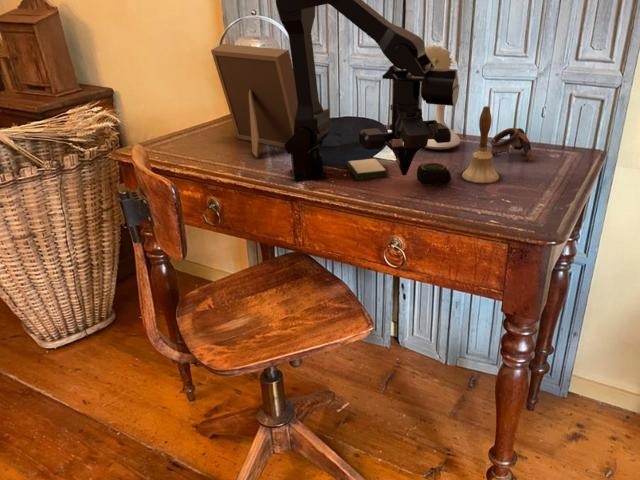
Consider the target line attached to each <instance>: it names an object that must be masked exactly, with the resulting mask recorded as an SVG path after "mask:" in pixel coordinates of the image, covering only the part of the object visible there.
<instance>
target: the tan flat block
mask: <svg viewBox="0 0 640 480" xmlns="http://www.w3.org/2000/svg"><path fill="white" fill-rule="evenodd" d="M346 163H347V169H348V170H349V172H351V174H352V175H353V176H354V178H355V179H356V181H361V180H370V179H379V178H386V177H387V170H386V168H385V167H384V166H383V165H382V164H381V163H380V162H379V161H378V160H377V159H376V158H366V159H357V160H348V161H347V162H346Z"/></svg>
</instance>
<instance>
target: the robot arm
mask: <svg viewBox="0 0 640 480" xmlns="http://www.w3.org/2000/svg"><path fill="white" fill-rule="evenodd" d="M275 5H276V10H277V13H278V16H279V20H280V23H281V24H282V26H283V28H284V30H285V32H286V33H287V37H288V42H289V49H290V50H289V52H290V58H291V63H292V67H293V73H294V81H295V89H296V96H297V110H296V114H295V118H294V135H293V136H292V137H291V138H290V139H289V140H288V141H287V142H286V144H285V145H284V146H285V148H284V149H285V151H286V154H288V155H290V161H291V162H290V163H291V169H290V174H291V176H292V177H293V180H294V181H305V180H314V179H322V178H323V173H324V166H323V165H324V164H323V163H324V162H323V155H322V154H321V151H320V150H321V149H320V148H319V146H320V147H321V146H322V144H323V142H324V139H326V138H327V137H328V135H329V133H330V128H331V127H332V123H331V121H330V114H331V113H330V112H331V111H330V109H329V108H326V109H324V108H323V106H322V104H321V102H320V98H319V90H318V82H317V72H316V63H315V54H314V45H313V37H312V36H313V35H312V30H313V27H314V23H315V17H316V7H320V6H324V5H330V6H331V7H332V8H334V9H335V10H336V11H337V12H339V13H340V14H341V15H342V16H343V17H345V18H346V19H347V20H349V22H350V23H352V24H353V25H354V26H356V27H357V28H359V29H360V30H361V31H362V32H363V33H365V34H366V35H367V36H369V38H371V39H372V40H373V41H374V42H375V43H376V44H377V45H378V47H379V49H380V50H381V52H382V54H383V55H384V57H386V58H387V60H388V61H389V63H391V64H392V65H391V66H389V68H388V69H387V71H386V72H385V73H384V74H382V75H381V77H382V79H383V80H391V81H392V84H391V85H392V87H391V91H392V92H391V93H392V94H391V95H392V96H391V104H389V105H390V108H389V109H390V111H391V123H390V124H389V130H391V131H389V132H388V131H387V132H382V130H380V129H379V128H378V127H376V128H363V129H361V130H360V132H359V134H358V142H359V144H360V145H361V146H362V147H363V148H364V150H368V151H370V150H371V151H372V150H381V149H382V148H383V147H384V146H386V147H387V148H389V149H390V151H392V153H393V155H394V157H395V160H396V163H397V166H398V168H399V171H400V174H401V175H402V176H407V174H408V172H409V169H410V167H411V165H412V163H413V160H414V158H415V156H416V154H417V153H418V152H419V151H420V150H421V149H424V148H425V147H426V146H427V144H428V139H434V140H435V141H436V142H437V143H446V142H450V141H451V132H450V130H449V128H450V127H449V128H447V127H446V126H444V125H443V124H441V123H437V121H436V120H435V119H430V120H424V118H423V110H422V108H421V98H422V101H425V103H426V105H435V104H436V105H445V106H447V107H449V106H451V107H455V106H456V105H457V103H458V99H459V94H460V84H459V77H458V69H456V68H450V69H449V70H441V69H434V68H435V67H434V65H433V64H432V62H431V61H430V59H429V57H428V56H427V54H426V53H425V48H426V47H425V42H424V40H423V39H422V37H420V36H419V35H417V34H416V33H413V32H411V31H410V30H408V29H406V28H403V27H401V26H399V25H396V24H394V23H392V22H390V21H389V20H388V19H386V18H385V17H384V16H382V14H380V13H379V12H378V11H376V10H375V9H374V8H373V7H371V6H370V5H369V4H368V3H366V2H365V1H364V0H275ZM421 81H422V84H421Z"/></svg>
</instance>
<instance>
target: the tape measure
mask: <svg viewBox="0 0 640 480" xmlns="http://www.w3.org/2000/svg"><path fill="white" fill-rule="evenodd" d="M451 175H452V174H451V172H450V170H449V169H447V167H446V165H444V164H442V163H438V162H425V163H422V164H420V165H418V166H417V169H416V180H417V182H418V183H420V184H421V185H426V186H432V187H433V186H436V185H445V184H446V185H447V184H450V182H451V181H452V176H451Z"/></svg>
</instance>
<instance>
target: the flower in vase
mask: <svg viewBox="0 0 640 480" xmlns="http://www.w3.org/2000/svg"><path fill="white" fill-rule="evenodd" d="M442 47H443V46H441V45H439V46H437V45H436V44H433V45H430V44H429V45H428V46H427V47H425V53H426V54H427V56H428V57H429V59H430V61H431V62H432V64H433V65H434V67H435V68H434V69H441V70H449V69H451V68H450V67H452V64H453V59H452V57H451V54H450V52H448V50H447V49H443V48H442ZM421 85H422V81H421ZM434 109H435V110H434V111H435V113H434V114H435V115H434V120H436V121H437V123H441V124H443V125H444V126H446V127H447V128H449V130H450V132H451V141H450V142H446V143H437V142H436V141H435V140H434V139H428V144H427V146H426V147H424V148H425V149H430V150H439V151H441V150H442V151H443V150H448V149H449V150H451V149H452V148H455V147H457V146H459V144H460V143H461V138H460V137H459V135H458V134H457V133H456V132H455V131H454V130H453V129H452V128H450V127H449V126H448V125H447V123H446V121H445V109H446V105H436V104H434Z"/></svg>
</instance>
